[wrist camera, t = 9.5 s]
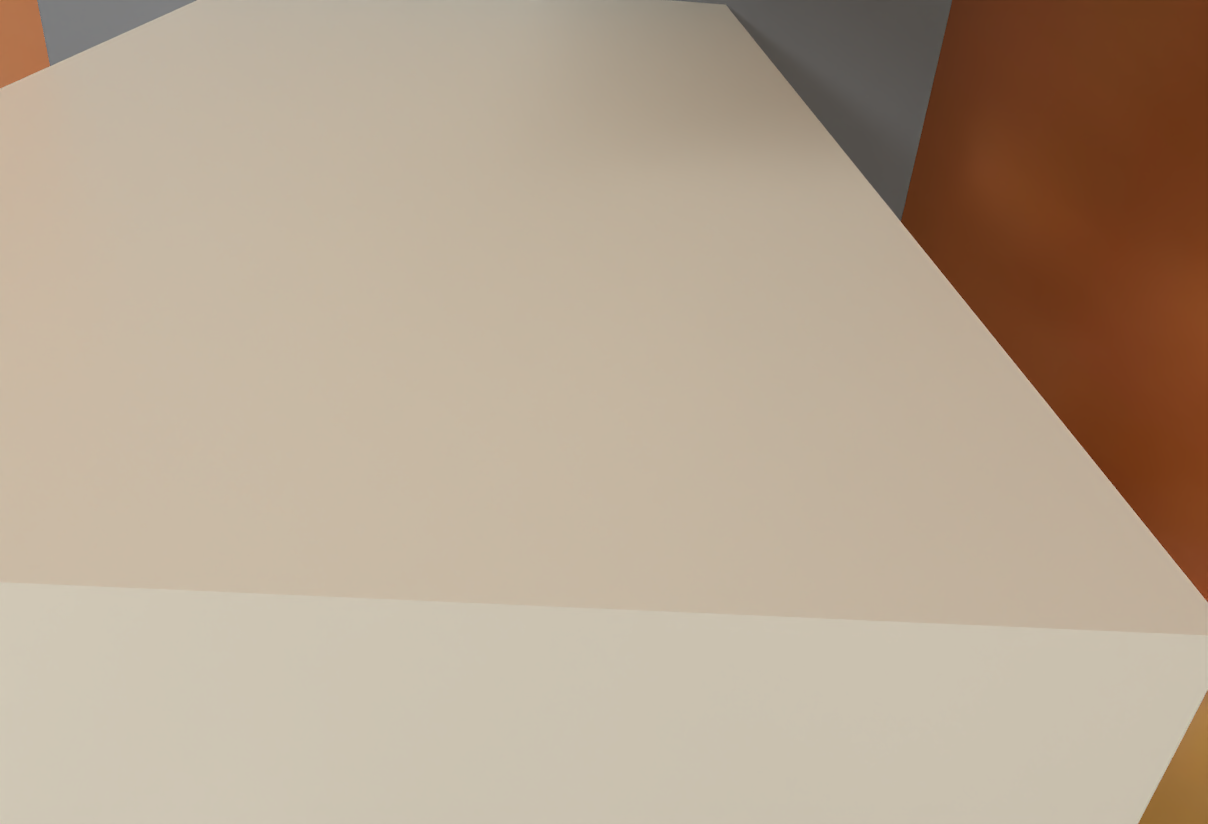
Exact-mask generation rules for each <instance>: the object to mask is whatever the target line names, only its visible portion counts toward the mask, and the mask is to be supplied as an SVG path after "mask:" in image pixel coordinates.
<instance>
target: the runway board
mask: <svg viewBox="0 0 1208 824" xmlns="http://www.w3.org/2000/svg"><path fill="white" fill-rule="evenodd" d="M37 1H38V6H39V11H40V16H41V21H42V27H43V32H44V37H45V42H46V47H47V52H48V57H49V62H50V66H52V65H54V64H56V63H58V62H61V61H63V60H65V59H67V58H70V57H72V56H74V55H76V54H78V53H81V52H83V51H85V50H87V49H90V48H92V47H94V46H96V45H99V44H101V43H103V42H105V41H107V40H110V39H112V38H114V37H116V36H119V35H121V34H123V33H125V32H127V31H130V30H132V29H134V28H136V27H139V26H141V25H143V24H145V23H148V22H150V21H152V20H154V19H156V18H159V17H161V16H163V15H165V14H168V13H170V12H172V11H174V10H176V9H179V8H181V7H183V6H185V5H188V4H190V3H192V2H194V1H197V0H37ZM673 1H686V2H699V3H712V4H725V5H726V6H727V7H728V8H729V9H730V11H731V12H732V13H733V14H734V16H735V17H736V18H737V19H738V21H739V22H740V23H741V24H742V25H743V27H744V28H745V29H746V30H747V32H748V33H749V34H750V35H751V37H752V38H753V39H754V40H755V42H756V43H757V44H758V45H759V47H760V48H761V49H762V50H763V52H764V53H765V54H766V55H767V56H768V58H769V59H770V60H771V61H772V63H773V64H774V65H775V66H776V68H777V69H778V70H779V71H780V73H781V74H782V75H783V76H784V78H785V79H786V80H787V81H788V83H789V84H790V85H791V86H792V88H793V89H794V90H795V91H796V92H797V94H798V95H799V96H800V97H801V99H802V100H803V101H804V102H805V104H806V105H807V106H808V107H809V109H810V110H811V111H812V112H813V114H814V115H815V116H816V117H817V119H818V120H819V121H820V122H821V123H822V125H823V126H824V127H825V128H826V130H827V131H828V132H829V133H830V135H831V136H832V137H833V138H834V140H835V141H836V142H837V143H838V145H839V146H840V147H841V148H842V150H843V151H844V152H845V153H846V154H847V156H848V157H849V158H850V159H851V161H852V162H853V163H854V164H855V166H856V167H857V168H858V169H859V171H860V172H861V173H862V174H863V176H864V177H865V178H866V179H867V181H868V182H869V183H870V184H871V185H872V187H873V188H874V189H875V190H876V192H877V193H878V194H879V195H880V197H881V198H882V199H883V200H884V202H885V203H886V204H887V205H888V207H889V208H890V209H891V210H892V212H893V213H894V214H895V215H896V216H897V218H898V219H899V220H900V221H901V218H902V214H903V210H904V206H905V201H906V197H907V193H908V188H909V184H910V180H911V175H912V171H913V167H914V163H915V158H916V154H917V150H918V145H919V141H920V137H921V132H922V128H923V124H924V119H925V115H926V111H927V107H928V102H929V98H930V94H931V89H932V85H933V81H934V76H935V72H936V68H937V64H938V59H939V55H940V51H941V46H942V42H943V38H944V33H945V29H946V25H947V21H948V16H949V12H950V8H951V3H952V0H673Z"/></svg>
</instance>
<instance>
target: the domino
mask: <svg viewBox="0 0 1208 824" xmlns="http://www.w3.org/2000/svg"><path fill="white" fill-rule="evenodd" d="M1207 690H1208V602H1207V601H1206V600H1205V598H1204V597H1203V596H1202V595H1201V593H1200V592H1199V591H1198V590H1197V589H1196V587H1195V586H1194V585H1193V584H1192V582H1191V581H1190V580H1189V579H1188V577H1187V576H1186V575H1185V574H1184V572H1183V571H1182V570H1181V569H1180V567H1179V566H1178V565H1177V564H1176V562H1175V561H1174V560H1173V559H1172V558H1171V556H1170V555H1169V554H1168V553H1167V551H1166V550H1165V549H1164V548H1163V546H1162V545H1161V544H1160V543H1159V541H1158V540H1157V539H1156V538H1155V536H1154V535H1153V534H1152V533H1151V531H1150V530H1149V529H1148V528H1147V527H1146V525H1145V524H1144V523H1143V522H1142V520H1141V519H1140V518H1139V517H1138V515H1137V514H1136V513H1135V512H1134V510H1133V509H1132V508H1131V507H1130V505H1129V504H1128V503H1127V502H1126V500H1125V499H1124V498H1123V497H1122V496H1121V494H1120V493H1119V492H1118V491H1117V489H1116V488H1115V487H1114V486H1113V484H1112V483H1111V482H1110V481H1109V479H1108V478H1107V477H1106V476H1105V474H1104V473H1103V472H1102V471H1101V469H1100V468H1099V467H1098V466H1097V465H1096V463H1095V462H1094V461H1093V460H1092V458H1091V457H1090V456H1089V455H1088V453H1087V452H1086V451H1085V450H1084V448H1083V447H1082V446H1081V445H1080V443H1079V442H1078V441H1077V440H1076V438H1075V437H1074V436H1073V435H1072V434H1071V432H1070V431H1069V430H1068V429H1067V427H1066V426H1065V425H1064V424H1063V422H1062V421H1061V420H1060V419H1059V417H1058V416H1057V415H1056V414H1055V412H1054V411H1053V410H1052V409H1051V407H1050V406H1049V405H1048V404H1047V403H1046V401H1045V400H1044V399H1043V398H1042V396H1041V395H1040V394H1039V393H1038V391H1037V390H1036V389H1035V388H1034V386H1033V385H1032V384H1031V383H1030V381H1029V380H1028V379H1027V378H1026V376H1025V375H1024V374H1023V373H1022V372H1021V370H1020V369H1019V368H1018V367H1017V365H1016V364H1015V363H1014V362H1013V360H1012V359H1011V358H1010V357H1009V355H1008V354H1007V353H1006V352H1005V350H1004V349H1003V348H1002V347H1001V345H1000V344H999V343H998V342H997V340H996V339H995V338H994V337H993V336H992V334H991V333H990V332H989V331H988V329H987V328H986V327H985V326H984V324H983V323H982V322H981V321H980V319H979V318H978V317H977V316H976V314H975V313H974V312H973V311H972V309H971V308H970V307H969V306H968V305H967V303H966V302H965V301H964V300H963V298H962V297H961V296H960V295H959V293H958V292H957V291H956V290H955V288H954V287H953V286H952V285H951V283H950V282H949V281H948V280H947V278H946V277H945V276H944V275H943V274H942V272H941V271H940V270H939V269H938V267H937V266H936V265H935V264H934V262H933V261H932V260H931V259H930V257H929V256H928V255H927V254H926V252H925V251H924V250H923V249H922V247H921V246H920V245H919V244H918V243H917V241H916V240H915V239H914V238H913V236H912V235H911V234H910V233H909V231H908V230H907V229H906V228H905V226H904V225H903V224H902V223H901V221H900V220H899V219H898V218H897V216H896V215H895V214H894V213H893V212H892V210H891V209H890V208H889V207H888V205H887V204H886V203H885V202H884V200H883V199H882V198H881V197H880V195H879V194H878V193H877V192H876V190H875V189H874V188H873V187H872V185H871V184H870V183H869V182H868V181H867V179H866V178H865V177H864V176H863V174H862V173H861V172H860V171H859V169H858V168H857V167H856V166H855V164H854V163H853V162H852V161H851V159H850V158H849V157H848V156H847V154H846V153H845V152H844V151H843V150H842V148H841V147H840V146H839V145H838V143H837V142H836V141H835V140H834V138H833V137H832V136H831V135H830V133H829V132H828V131H827V130H826V128H825V127H824V126H823V125H822V123H821V122H820V121H819V120H818V119H817V117H816V116H815V115H814V114H813V112H812V111H811V110H810V109H809V107H808V106H807V105H806V104H805V102H804V101H803V100H802V99H801V97H800V96H799V95H798V94H797V92H796V91H795V90H794V89H793V88H792V86H791V85H790V84H789V83H788V81H787V80H786V79H785V78H784V76H783V75H782V74H781V73H780V71H779V70H778V69H777V68H776V66H775V65H774V64H773V63H772V61H771V60H770V59H769V58H768V56H767V55H766V54H765V53H764V52H763V50H762V49H761V48H760V47H759V45H758V44H757V43H756V42H755V40H754V39H753V38H752V37H751V35H750V34H749V33H748V32H747V30H746V29H745V28H744V27H743V25H742V24H741V23H740V22H739V21H738V19H737V18H736V17H735V16H734V14H733V13H732V12H731V11H730V9H729V8H728V7H727V6H726V5H725V4H712V3H699V2H686V1H673V0H197V1H194V2H192V3H190V4H188V5H185V6H183V7H181V8H179V9H176V10H174V11H172V12H170V13H168V14H165V15H163V16H161V17H159V18H156V19H154V20H152V21H150V22H148V23H145V24H143V25H141V26H139V27H136V28H134V29H132V30H130V31H127V32H125V33H123V34H121V35H119V36H116V37H114V38H112V39H110V40H107V41H105V42H103V43H101V44H99V45H96V46H94V47H92V48H90V49H87V50H85V51H83V52H81V53H78V54H76V55H74V56H72V57H70V58H67V59H65V60H63V61H61V62H58V63H56V64H54V65H52V66H50V67H47V68H45V69H43V70H41V71H38V72H36V73H34V74H32V75H29V76H27V77H25V78H23V79H21V80H18V81H16V82H14V83H12V84H9V85H7V86H5V87H3V88H1V89H0V824H1138V823H1139V821H1140V819H1141V817H1142V815H1143V813H1144V811H1145V809H1146V807H1147V805H1148V803H1149V802H1150V800H1151V798H1152V796H1153V794H1154V792H1155V790H1156V788H1157V786H1158V784H1159V782H1160V780H1161V779H1162V777H1163V775H1164V773H1165V771H1166V769H1167V767H1168V765H1169V763H1170V761H1171V759H1172V757H1173V755H1174V754H1175V752H1176V750H1177V748H1178V746H1179V744H1180V742H1181V740H1182V738H1183V736H1184V734H1185V732H1186V731H1187V729H1188V727H1189V725H1190V723H1191V721H1192V719H1193V717H1194V715H1195V713H1196V711H1197V709H1198V708H1199V706H1200V704H1201V702H1202V700H1203V698H1204V696H1205V694H1206V692H1207Z"/></svg>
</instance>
